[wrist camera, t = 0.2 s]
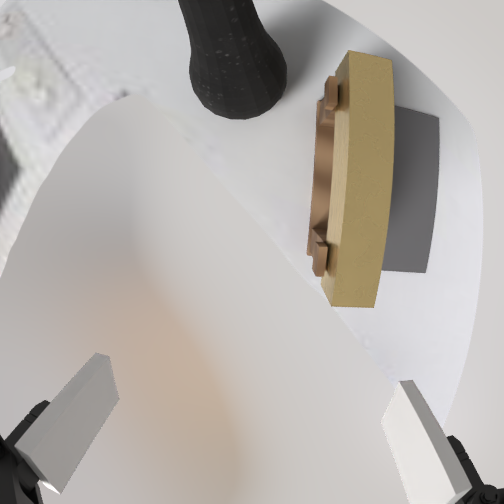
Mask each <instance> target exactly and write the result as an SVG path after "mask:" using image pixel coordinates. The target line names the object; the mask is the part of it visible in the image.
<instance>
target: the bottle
mask: <svg viewBox="0 0 504 504" xmlns="http://www.w3.org/2000/svg"><path fill="white" fill-rule="evenodd" d="M178 2H179V5H180V8H181V11H182V14H183V17H184V20H185V23H186V27H187V30H188V34H189V38H190V45H191V58H190V66H189V74H190V80H191V83H192V87H193V90H194V92H195V94H196V95H197V97H198V98H199V100H200V101H201V102H202V104H203V105H204V107H206V108H207V109H209V110H210V111H211V112H213V113H214V114H216V115H219V116H222V117H225V118H228V119H243V120H245V119H249V118H253V117H257V116H260V115H261V114H263V113H265V112H266V111H268V110H270V109H271V108H272V107H273V106H274V105H275V104H276V102H277V101H278V100H279V99H280V98H281V96H282V94H283V92H284V89H285V87H286V77H287V67H286V63H285V60H284V57H283V54H282V52H281V50H280V48H279V47H278V45H277V44H276V43H275V42H274V40H273V39H272V38H271V37H270V36H269V35H268V34H267V32H266V31H265V29H264V27H263V25H262V23H261V21H260V19H259V17H258V15H257V12H256V9H255V7H254V4H253V1H252V0H178Z"/></svg>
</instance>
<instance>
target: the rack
mask: <svg viewBox="0 0 504 504" xmlns="http://www.w3.org/2000/svg"><path fill="white" fill-rule="evenodd" d="M337 104H338V77H334V76H329V77H328V79H327V81H326V82H325V94H324V98H323V100H322V101H319V100H318V102H317V116H316V140H315V158H314V174H313V188H312V201H311V213H310V225H309V235H308V245H307V255H309V256H312V257H313V266H312V269H313V272H314V274H315V276H319V277H324V274H325V266H326V258H327V250H328V247H327V246H326V239H327V229H328V219H329V209H330V197H331V184H332V170H333V153H334V130H335V106H336V105H337Z"/></svg>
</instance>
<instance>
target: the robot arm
mask: <svg viewBox="0 0 504 504" xmlns="http://www.w3.org/2000/svg"><path fill="white" fill-rule="evenodd" d="M118 401H119V395H118V392H117V388H116V384H115V380H114V376H113V371H112V367H111V363H110V358H109V356H106V355H102V354H99V353H95V354H94V355H93V357H91V359H90V360H89V361H88V362H87V363H86V364H85V365H84V366H83V367H82V368H81V369H80V370H79V372H78V373H77V374H76V375H75V376H74V377H73V378H72V379H71V380H70V381H69V382H68V384H67V385H66V386H65V387H64V388H63V390H61V391H60V393H59V394H58V395H57V396H56V397H55V398H54V399H53V400H52V402H48V401H46V400H44V401H43V402H41V403H39V404H37V405H36V406H35V407H34V408H33V409H32V410H31V411H30V413H29V414H27V416H26V417H25V418H24V420H22V421H21V422H20V423H19V425H18V426H17V427H16V428H15V429H14V430H13V431H12V433H11V434H10V435H9V436H8V437H7V438H6V439H5V440H3V438H2V437H1V435H0V504H43V501H42V497H41V493H40V488H39V486H38V484H37V482H38V481H39V479H40V480H41V481H42V483H44V485H45V486H46V487H48V488H50V489H51V490H53V491H55V492H57V493H58V494H61V493H62V491H63V490H64V488H65V486H66V485H67V483H68V481H69V479H70V478H71V476H72V474H73V473H74V471H75V469H76V468H77V466H78V464H79V463H80V461H81V460H82V458H83V456H84V455H85V453H86V451H87V449H88V448H89V447H90V445H91V443H92V442H93V440H94V438H95V437H96V435H97V434H98V432H99V430H100V429H101V427H102V426H103V424H104V423H105V421H106V419H107V418H108V416H109V415H110V413H111V411H112V410H113V408H114V407H115V405H116V404H117V402H118ZM381 425H382V427H383V429H384V432H385V435H386V438H387V440H388V443H389V446H390V448H391V451H392V454H393V457H394V459H395V462H396V465H397V468H398V471H399V473H400V477H401V479H402V482H403V485H404V488H405V491H406V494H407V498H408V501H409V504H504V488H502V489H497V488H496V487H494V486H492V485H484V483H483V482H482V480H481V479H480V477H479V475H478V473H477V471H476V469H475V467H474V465H473V463H472V461H471V460H470V459H469V456H468V454H467V453H466V452H465V449H464V447H463V445H462V444H461V442H460V441H459V440H458V439H456V438H455V437H454V436H453V435H452V436H448V437H446V436H445V434H444V432H443V430H442V429H441V427H440V425H439V423H438V422H437V420H436V418H435V416H434V415H433V413H432V411H431V410H430V408H429V406H428V404H427V403H426V401H425V399H424V398H423V396H422V394H421V393H420V391H419V390H418V388H417V386H416V385H415V383H414V381H413V380H408V381H399V382H398V385H397V387H396V390H395V392H394V394H393V397H392V399H391V401H390V403H389V405H388V408H387V410H386V412H385V414H384V416H383V418H382V420H381Z"/></svg>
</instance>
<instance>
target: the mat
mask: <svg viewBox="0 0 504 504" xmlns="http://www.w3.org/2000/svg"><path fill="white" fill-rule="evenodd" d="M438 171H439V118H437V117H434V116H430V115H427V114H424V113H420V112H417V111H413V110H410V109H406V108H402V107H398V106H394V162H393V179H392V192H391V203H390V213H389V221H388V229H387V237H386V244H385V251H384V257H383V263H382V269H381V270H383V271H399V272H416V273H426V268H427V262H428V257H429V251H430V246H431V239H432V233H433V225H434V218H435V209H436V199H437V187H438Z"/></svg>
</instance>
